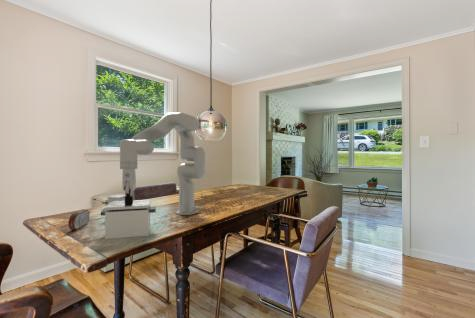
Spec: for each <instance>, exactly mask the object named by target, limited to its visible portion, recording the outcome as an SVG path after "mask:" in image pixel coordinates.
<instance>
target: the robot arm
mask: <svg viewBox="0 0 475 318" xmlns="http://www.w3.org/2000/svg"><path fill="white" fill-rule="evenodd" d="M199 127H200V122H199V119H198V118H197V117H196V116H193V115H191V114H188V113H185V112H180V111H179V112H167V113H165V114H164V115H163V116H161V118H159V120H157V121H156V122H155V123H154V124H153V125H152V126H149V127H147V128H145V129H143V130H141V131H139V132H138V133H136V134H135V135H133V136H132V137H131V138H129V139H125V138H124V139H121V140H120V141H119V169H120V170H122V172H121V173H122V179H121V181H122V191H124V195H125V205H132V204H133V200H134V198H133V191H135V190H136V187H137V184H136V183H137V182H136V178H137V177H136V170H138V156H148V155H151V154H152V153H153V152H154V150H155V146H154V143H153V142H154V141H158V140H161V139H164V138H166V136H167V135H168V134H169V133H170V132H171V131H172V130H175V131H176V132H177V134H178V136H179V138H180V148H179V149H180V154H179V155H180V159H181V160H183V163H181V164H179V165H178V166H177V171H176V172H177V178H178V179H177V180H178V209H177V210H176V212H175V213H176V214H177V215H179V216H191V215H195V214H196V213H197V210H200V211H201V210H203V209H202V206H199V205H197V206H196V205H195V183H194V181H193V180H200V179H203V177H204V175H205V171H206V170H205V169H206V152H205V149H204V147H202V146H199V145H195V136H194V134H193V133H192V132H195V131H197V130H198V129H199ZM184 161H186V163H184ZM187 162H189V163H187ZM190 162H191V163H190ZM192 162H193V163H192Z"/></svg>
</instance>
